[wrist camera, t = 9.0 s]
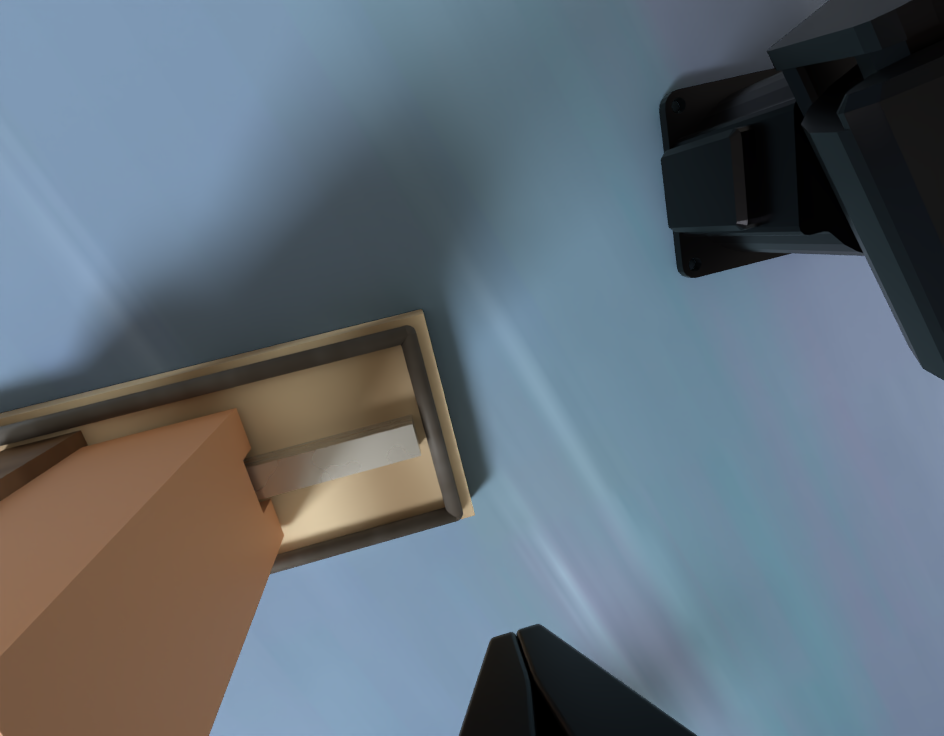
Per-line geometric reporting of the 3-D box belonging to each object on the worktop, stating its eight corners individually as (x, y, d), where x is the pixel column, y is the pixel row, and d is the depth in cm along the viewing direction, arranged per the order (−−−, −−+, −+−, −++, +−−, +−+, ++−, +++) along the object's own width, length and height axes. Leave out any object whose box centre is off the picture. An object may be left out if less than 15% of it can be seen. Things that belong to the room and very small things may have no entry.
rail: (411, 414, 18) (412, 424, 17) (419, 444, 18) (421, 455, 18) (111, 493, 17) (94, 508, 16) (124, 524, 18) (109, 540, 17)
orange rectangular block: (236, 407, 17) (-29, 686, 6) (284, 535, 18) (131, 940, 8) (81, 447, 17) (-476, 815, 6) (142, 574, 18) (-224, 1059, 7)
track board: (421, 309, 19) (424, 316, 17) (470, 500, 21) (477, 523, 19) (-39, 423, 17) (-87, 443, 15) (64, 613, 19) (32, 650, 18)
